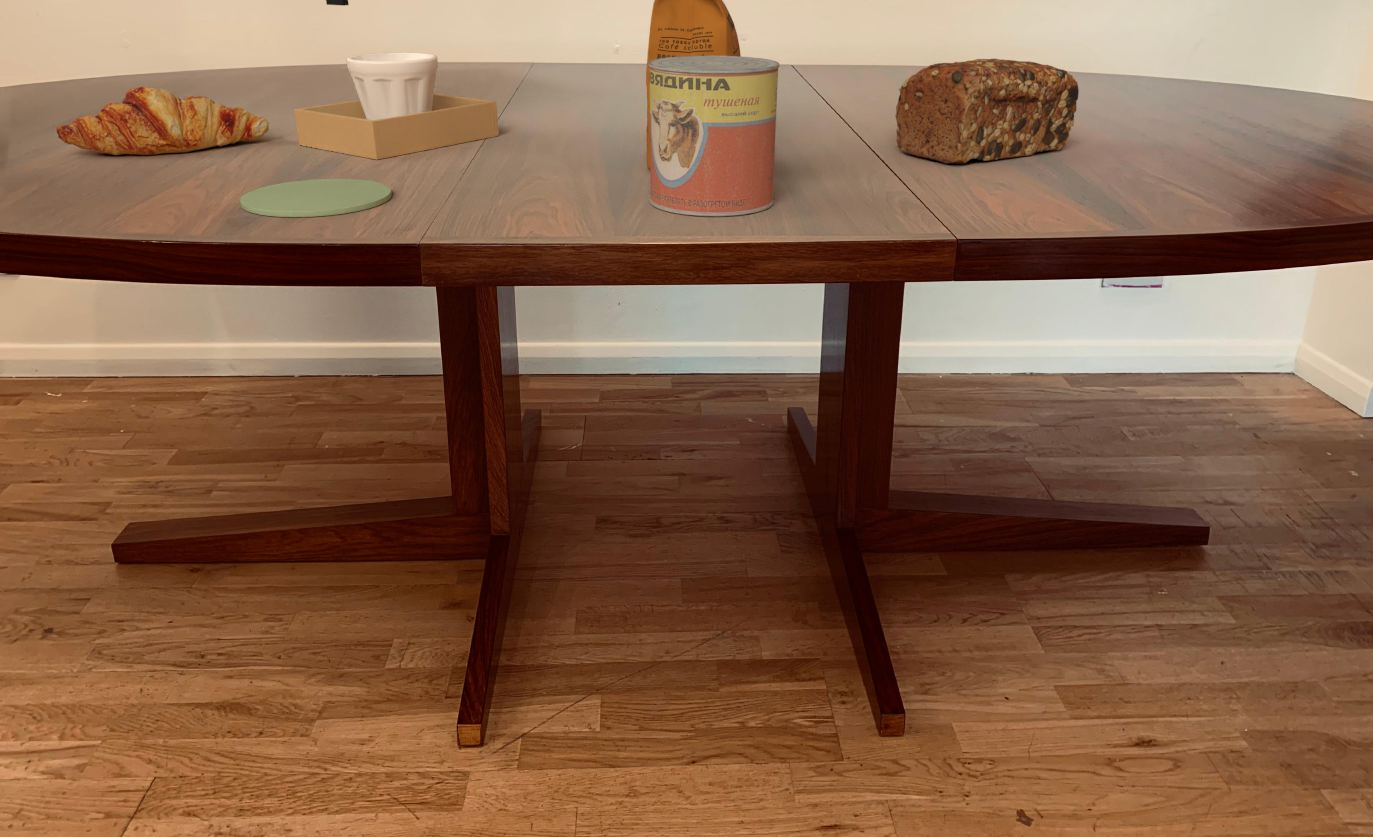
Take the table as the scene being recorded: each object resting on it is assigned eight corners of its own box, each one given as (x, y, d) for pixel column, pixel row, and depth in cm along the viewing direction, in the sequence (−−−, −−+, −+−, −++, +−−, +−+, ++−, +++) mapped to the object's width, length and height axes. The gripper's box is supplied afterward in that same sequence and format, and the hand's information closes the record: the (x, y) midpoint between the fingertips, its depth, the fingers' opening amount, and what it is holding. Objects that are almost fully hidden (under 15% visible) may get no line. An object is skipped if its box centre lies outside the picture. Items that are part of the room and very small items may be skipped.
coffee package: (751, 154, 112) (758, -66, 102) (729, 178, 101) (735, -66, 91) (664, 150, 114) (663, -67, 104) (633, 172, 103) (629, -67, 94)
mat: (210, 202, 90) (209, 197, 90) (332, 177, 100) (332, 172, 100) (299, 225, 84) (298, 219, 83) (421, 196, 93) (420, 190, 93)
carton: (299, 145, 115) (293, 109, 114) (422, 124, 129) (419, 91, 127) (376, 159, 108) (372, 121, 106) (499, 135, 122) (496, 101, 120)
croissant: (271, 165, 121) (257, 100, 121) (279, 137, 112) (263, 66, 112) (68, 180, 111) (52, 109, 111) (59, 149, 103) (42, 72, 103)
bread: (957, 169, 106) (969, 68, 101) (887, 152, 114) (895, 58, 109) (1074, 151, 115) (1090, 58, 110) (1001, 136, 123) (1013, 49, 119)
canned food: (623, 201, 92) (621, 62, 86) (704, 182, 99) (706, 52, 94) (719, 223, 85) (722, 73, 80) (798, 200, 93) (805, 62, 87)
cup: (408, 151, 112) (398, 63, 108) (338, 143, 116) (326, 58, 112) (462, 136, 121) (455, 54, 117) (395, 130, 124) (386, 50, 120)
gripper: (276, -243, 92) (313, 9, 101) (478, -214, 110) (494, -3, 119) (228, -236, 96) (269, 6, 105) (431, -209, 114) (450, -5, 123)
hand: (389, 2), depth 112 cm, fingers open, 13 cm apart
